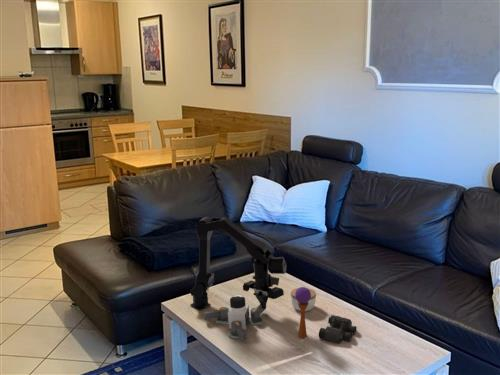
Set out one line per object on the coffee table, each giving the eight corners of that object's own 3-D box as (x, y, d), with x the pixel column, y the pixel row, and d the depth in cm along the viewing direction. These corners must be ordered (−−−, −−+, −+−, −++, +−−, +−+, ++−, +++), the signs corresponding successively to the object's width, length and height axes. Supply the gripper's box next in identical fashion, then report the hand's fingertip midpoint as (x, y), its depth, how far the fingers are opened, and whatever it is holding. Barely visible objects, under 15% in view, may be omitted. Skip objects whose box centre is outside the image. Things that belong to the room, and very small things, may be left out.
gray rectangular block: (229, 331, 191) (229, 321, 190) (239, 329, 193) (239, 319, 192) (240, 343, 182) (240, 332, 181) (250, 340, 184) (249, 330, 183)
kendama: (313, 335, 189) (314, 287, 185) (305, 341, 185) (305, 292, 180) (299, 330, 193) (300, 283, 188) (291, 337, 188) (292, 288, 184)
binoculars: (359, 328, 195) (359, 314, 193) (346, 347, 181) (346, 332, 180) (332, 322, 200) (332, 308, 198) (318, 340, 186) (318, 325, 185)
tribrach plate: (204, 324, 198) (204, 323, 198) (238, 308, 212) (238, 307, 212) (236, 341, 185) (236, 339, 185) (271, 323, 199) (271, 321, 199)
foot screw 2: (257, 322, 198) (257, 312, 197) (248, 320, 200) (248, 310, 199) (267, 312, 207) (267, 302, 206) (259, 310, 208) (258, 300, 207)
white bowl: (287, 312, 208) (287, 292, 206) (294, 302, 218) (295, 282, 216) (312, 317, 204) (312, 296, 202) (318, 306, 214) (318, 286, 212)
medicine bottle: (246, 329, 193) (244, 301, 190) (229, 329, 195) (226, 301, 192) (250, 320, 200) (247, 293, 197) (233, 320, 201) (230, 293, 198)
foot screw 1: (227, 315, 204) (227, 305, 203) (229, 319, 200) (229, 310, 199) (203, 318, 201) (203, 309, 200) (205, 323, 198) (205, 313, 197)
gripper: (291, 271, 201) (294, 307, 203) (258, 264, 214) (261, 297, 216) (272, 279, 193) (275, 316, 195) (240, 271, 206) (243, 306, 209)
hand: (264, 308), depth 204 cm, fingers closed, pressing on foot screw 2
